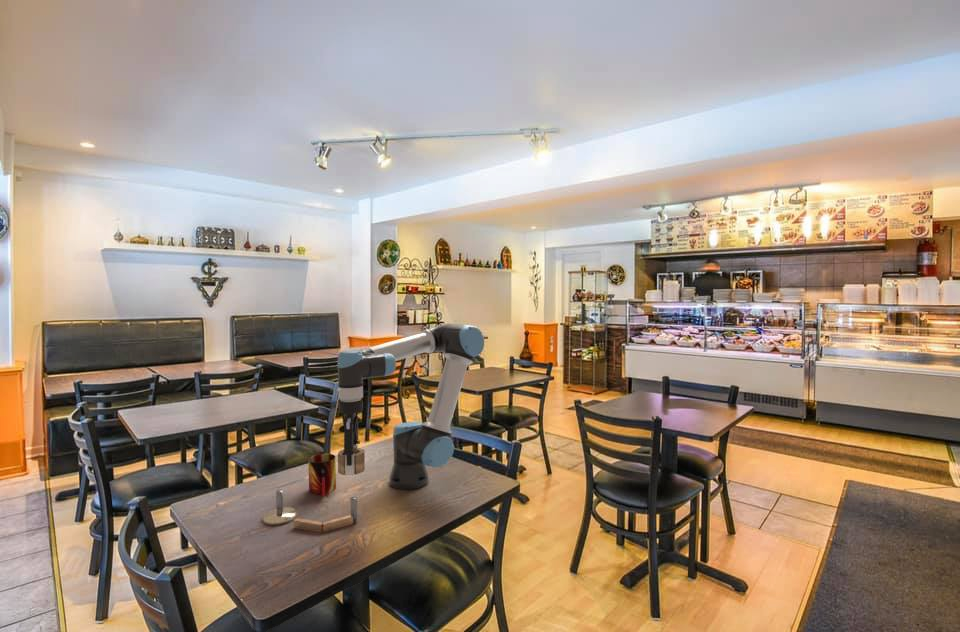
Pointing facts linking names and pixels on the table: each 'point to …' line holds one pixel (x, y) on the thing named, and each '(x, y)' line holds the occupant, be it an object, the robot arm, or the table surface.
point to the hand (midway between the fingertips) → (351, 469)
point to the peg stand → (279, 512)
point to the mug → (322, 474)
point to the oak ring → (358, 461)
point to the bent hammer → (329, 524)
